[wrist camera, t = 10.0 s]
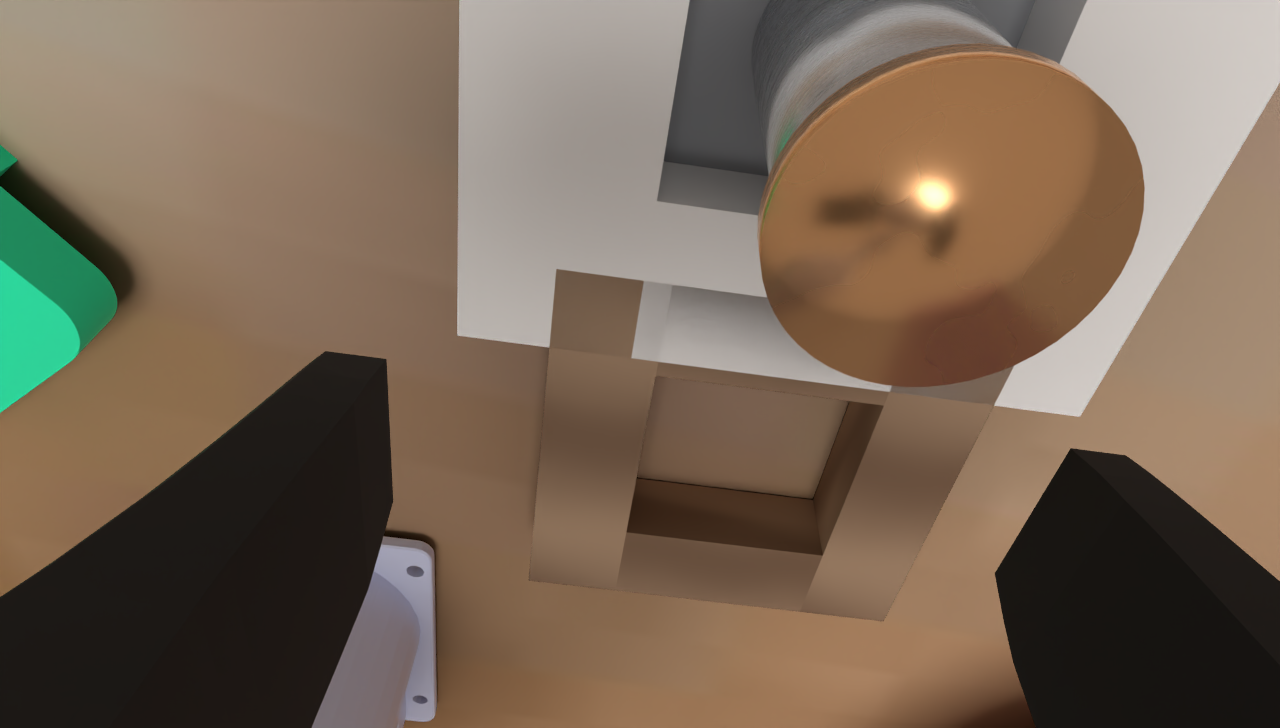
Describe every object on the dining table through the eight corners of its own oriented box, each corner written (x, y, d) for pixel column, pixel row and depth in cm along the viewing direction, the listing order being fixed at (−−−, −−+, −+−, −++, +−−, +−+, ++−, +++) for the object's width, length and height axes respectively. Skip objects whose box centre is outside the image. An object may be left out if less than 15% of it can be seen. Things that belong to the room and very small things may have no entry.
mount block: (870, 564, 25) (883, 621, 24) (538, 525, 25) (528, 580, 23) (1001, 283, 19) (1030, 333, 18) (566, 222, 19) (556, 269, 17)
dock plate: (1048, 363, 21) (1079, 416, 19) (475, 286, 20) (457, 335, 18) (1461, -402, 12) (1580, -421, 11) (493, -585, 11) (463, -635, 10)
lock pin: (928, 181, 18) (1041, 407, 12) (714, 146, 18) (726, 361, 12) (1022, -55, 15) (1225, 98, 9) (767, -99, 15) (816, 28, 9)
